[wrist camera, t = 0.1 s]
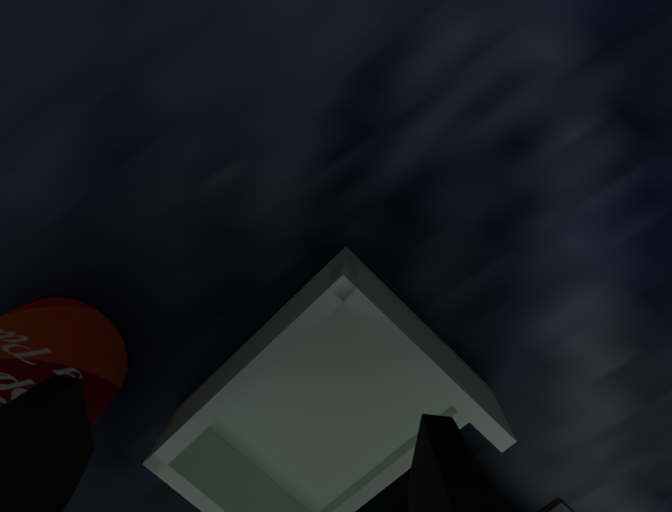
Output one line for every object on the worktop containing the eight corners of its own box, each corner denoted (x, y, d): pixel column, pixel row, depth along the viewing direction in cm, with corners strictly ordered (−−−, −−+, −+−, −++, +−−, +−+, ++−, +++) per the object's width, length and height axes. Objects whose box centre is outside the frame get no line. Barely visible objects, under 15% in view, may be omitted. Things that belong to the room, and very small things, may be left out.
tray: (316, 524, 24) (309, 597, 20) (177, 407, 23) (142, 463, 19) (490, 386, 22) (516, 441, 18) (345, 246, 20) (343, 274, 16)
